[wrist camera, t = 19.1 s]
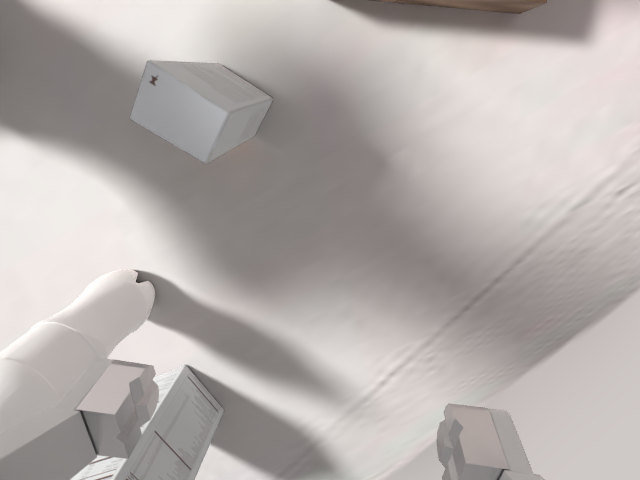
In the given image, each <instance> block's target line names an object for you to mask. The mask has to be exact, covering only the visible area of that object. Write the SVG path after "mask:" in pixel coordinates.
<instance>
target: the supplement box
mask: <svg viewBox="0 0 640 480" xmlns="http://www.w3.org/2000/svg"><path fill="white" fill-rule="evenodd" d="M152 380H153V381H154V382H155V383H156V384H157V385H158V388H159V400H158V403H157V406H156V410H155V412H154V414H153V416H152V417H151V419H150V420H149V421H148V422H146V423H145V424H144V425H142V426H141V433H142V436H141V437H140V439H139V441H138V443H137V445H136V446H135V448H134V450H133V452H132V454H131V455H130V457H129V459H125V458H116V457H107V456H99V455H97V458H96V459H94V460H93V461H92V462H91V463H90V464H88V465H87V466H86V467H85V468H84V469H82V470H81V471H80V472H79V473H78V474H76V475H75V476H74V477H73V478H71V479H70V480H195V477H196V475H197V473H198V470H199V468H200V465H201V463H202V461H203V459H204V457H205V454H206V452H207V450H208V447H209V445H210V443H211V440H212V438H213V436H214V433H215V431H216V429H217V427H218V424H219V422H220V420H221V418H222V415H223V413H224V409H223V408H222V407H221V406H220V405H219V403H218V402H217V401H216V400H215V399H214V397H213V396H212V395H211V394H210V393H209V392H208V390H207V389H206V388H205V387H204V386H203V384H202V383H201V382H200V381H199V380H198V379H197V377H196V376H195V375H194V374H193V373H192V371H191V370H190V369H189V368H188V367H187V366H186V365H184V366H181V367H178V368H176V369H174V370H171V371H169V372H166V373H164V374H161V375H159V376H156V377H154V378H153V379H152Z"/></svg>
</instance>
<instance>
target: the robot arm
mask: <svg viewBox="0 0 640 480" xmlns="http://www.w3.org/2000/svg"><path fill="white" fill-rule="evenodd" d="M154 376H155V370H154V366H151V365H145V364H139V363H133V362H126V361H120V360H113V359H106V358H98V359H96V360H94V361H93V362H92V363H91V364H90V365H89V367H88V368H87V369H86V370H85V371H84V373H83V374H82V375H81V376H80V377H79V379H78V380H77V381H76V382H75V383H74V385H73V386H72V387H71V388H70V389H69V391H68V392H67V393H66V394H65V395H64V397H63V398H62V399H61V400H60V401H59V403H58V404H57V405H56V406H55V407H48V408H46V409H44V410H43V411H41V412H39V413H37V414H35V415H34V416H32V417H30V418H28V419H26V420H25V421H23V422H21V423H19V424H18V425H16V426H14V427H12V428H10V429H9V430H7V431H5V432H3V433H2V434H0V480H70V479H71V478H73V477H74V476H75V475H76V474H78V473H79V472H80V471H81V470H82V469H84V468H85V467H86V466H87V465H88V464H90V463H91V462H92V461H93V460H94V459H96V458H97V455H99V456H107V457H116V458H125V459H129V457H130V455H131V454H132V452H133V450H134V448H135V446H136V445H137V443H138V441H139V439H140V437H141V436H142V433H141V426H142V425H144V424H145V423H146V422H148V421H149V420H150V419H151V417H152V416H153V414H154V412H155V410H156V406H157V403H158V400H159V388H158V385H157V384H156V383H155V382H154V381H153V380H152V379H153V378H154ZM444 416H445V420H444V421H442V422H440V424H439V427H438V431H437V452H438V458H439V461H440V462H441V463H442V465H443V466H444V467H445V471H444V474H443V476H442V480H544V479H543V478H542V477H541V476H540V475H537V474H533V472H532V470H531V467H530V464H529V462H528V459H527V457H526V454H525V451H524V449H523V447H522V444H521V441H520V439H519V436H518V434H517V431H516V429H515V426H514V424H513V421H512V419H511V416H510V414H509V413H508V412H507V411H503V410H495V409H486V408H483V407H475V406H466V405H457V404H448V405H447V406H446V407H445V410H444Z"/></svg>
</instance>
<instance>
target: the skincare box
mask: <svg viewBox="0 0 640 480" xmlns="http://www.w3.org/2000/svg"><path fill="white" fill-rule="evenodd" d="M272 101H273V98H272V97H270V96H268V95H267V94H265V93H264V92H262V91H261V90H259V89H258V88H256V87H254V86H253V85H251V84H250V83H248V82H247V81H245V80H244V79H242V78H240V77H239V76H237V75H236V74H234V73H233V72H231V71H229V70H228V69H226V68H225V67H223V66H222V65H220V64H219V63H198V62H171V61H147V63H146V67H145V70H144V73H143V77H142V80H141V83H140V87H139V90H138V93H137V96H136V99H135V102H134V105H133V108H132V111H131V115H130V119H131V120H132V121H134V122H136V123H137V124H139V125H140V126H142V127H144V128H146V129H147V130H149V131H151V132H152V133H154V134H156V135H157V136H159V137H161V138H162V139H164V140H166V141H168V142H169V143H171V144H173V145H174V146H176V147H178V148H180V149H181V150H183V151H185V152H186V153H188V154H190V155H191V156H193V157H195V158H197V159H198V160H200V161H202V162H203V163H205V164H207V163H209V162H210V161H212V160H214V159H216V158H217V157H219V156H221V155H223V154H224V153H226V152H228V151H229V150H231V149H233V148H235V147H236V146H238V145H240V144H242V143H244V142H245V141H247V140H249V139H250V138H252V137H254V136H255V134H256V132H257V130H258V128H259V126H260V124H261V122H262V120H263V119H264V117H265V115H266V113H267V111H268V109H269V107H270V105H271V103H272Z"/></svg>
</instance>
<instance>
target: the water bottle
mask: <svg viewBox="0 0 640 480" xmlns="http://www.w3.org/2000/svg"><path fill="white" fill-rule="evenodd" d="M137 275H138V273H137V272H136V271H134V270H129V269H121V270H116V271H112V272H110V273H107V274H105V275H103V276H101V277H99V278H97V279H96V280H95V281H93V282H92V283H91V284H89V285H88V286H87V288H86V289H85V290H84V292H83V293H82V294H81V295H80V296H79V297H78V298H77V299H76V300H75V301H74V302H73V303H72V304H70V305H69V306H68V307H67V308H65V309H64V310H62V311H60V312H59V313H57V314H55V315H53V316H51V317H49V318H47V319H45V320H42V321H40V322H38V323H37V324H35V325H34V326H33V327H32V328H31V329H30V331H29V332H27V333H26V334H25V335H23V336H22V337H20V338H19V339H18V340H16V341H15V342H14V343H12V344H11V345H10V346H8V347H7V348H6V349H4V350H3V351H2V352H0V434H2V433H3V432H5V431H7V430H9V429H10V428H12V427H14V426H16V425H18V424H19V423H21V422H23V421H25V420H26V419H28V418H30V417H32V416H34V415H35V414H37V413H39V412H41V411H43V410H44V409H46V408H48V407H55V406H56V405H57V404H58V403H59V401H60V400H61V399H62V398H63V397H64V395H65V394H66V393H67V392H68V391H69V389H70V388H71V387H72V386H73V385H74V383H75V382H76V381H77V380H78V379H79V377H80V376H81V375H82V374H83V373H84V371H85V370H86V369H87V368H88V367H89V365H90V364H91V363H92V362H93V361H94V360H96V359H98V358H106V359H107V358H108V356H109V355H110V353H111V352H112V351H113V349H114V348H115V347H116V346H117V344H118V343H119V342H120V341H122V340H123V339H124V338H125V337H126V336H128V335H129V334H131V333H133V332H134V331H136V330H137V329H138V328H139V327H140V326H141V325H142V324H143V323H144V322H145V321H146V319H147V318H148V317H149V316H150V313H151V310H152V306H153V303H154V299H155V290H154V287H153V285H152V284H151V283H150V282H149V281H145V282H142V283H136V279H137Z"/></svg>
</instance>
